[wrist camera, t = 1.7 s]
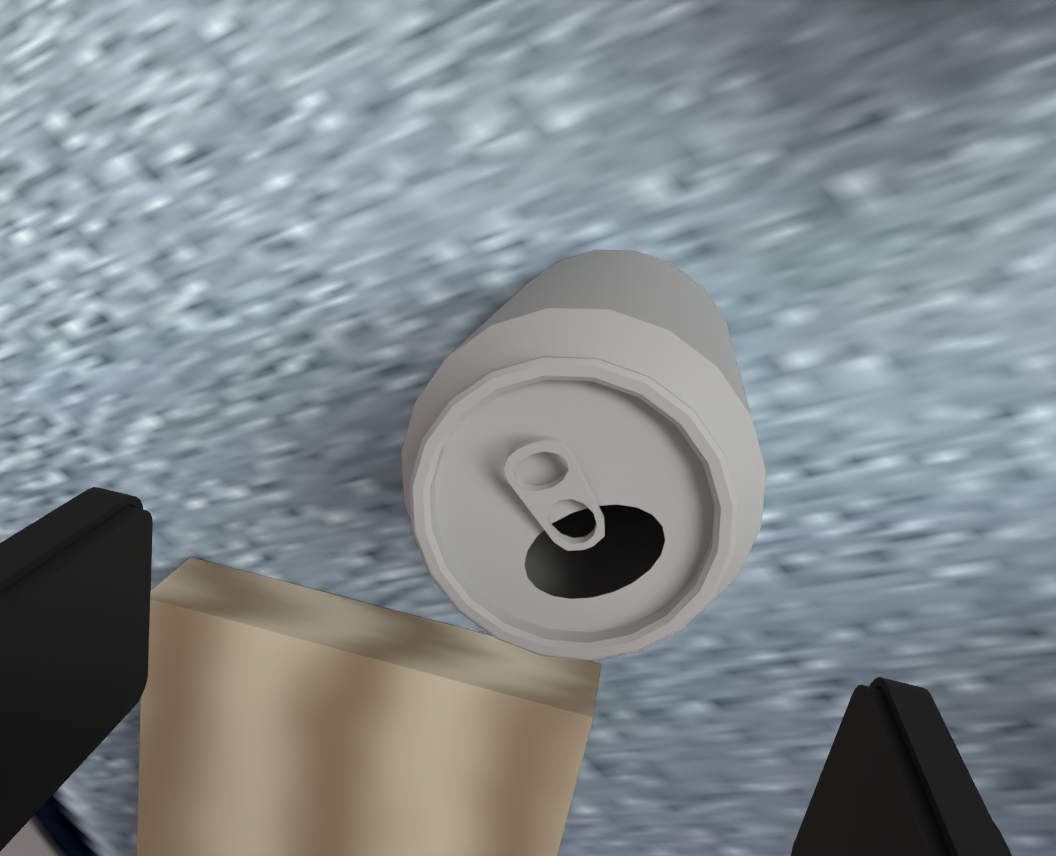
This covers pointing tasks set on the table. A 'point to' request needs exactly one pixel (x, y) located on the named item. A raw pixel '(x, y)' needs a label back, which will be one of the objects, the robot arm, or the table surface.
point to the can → (587, 461)
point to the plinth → (347, 728)
